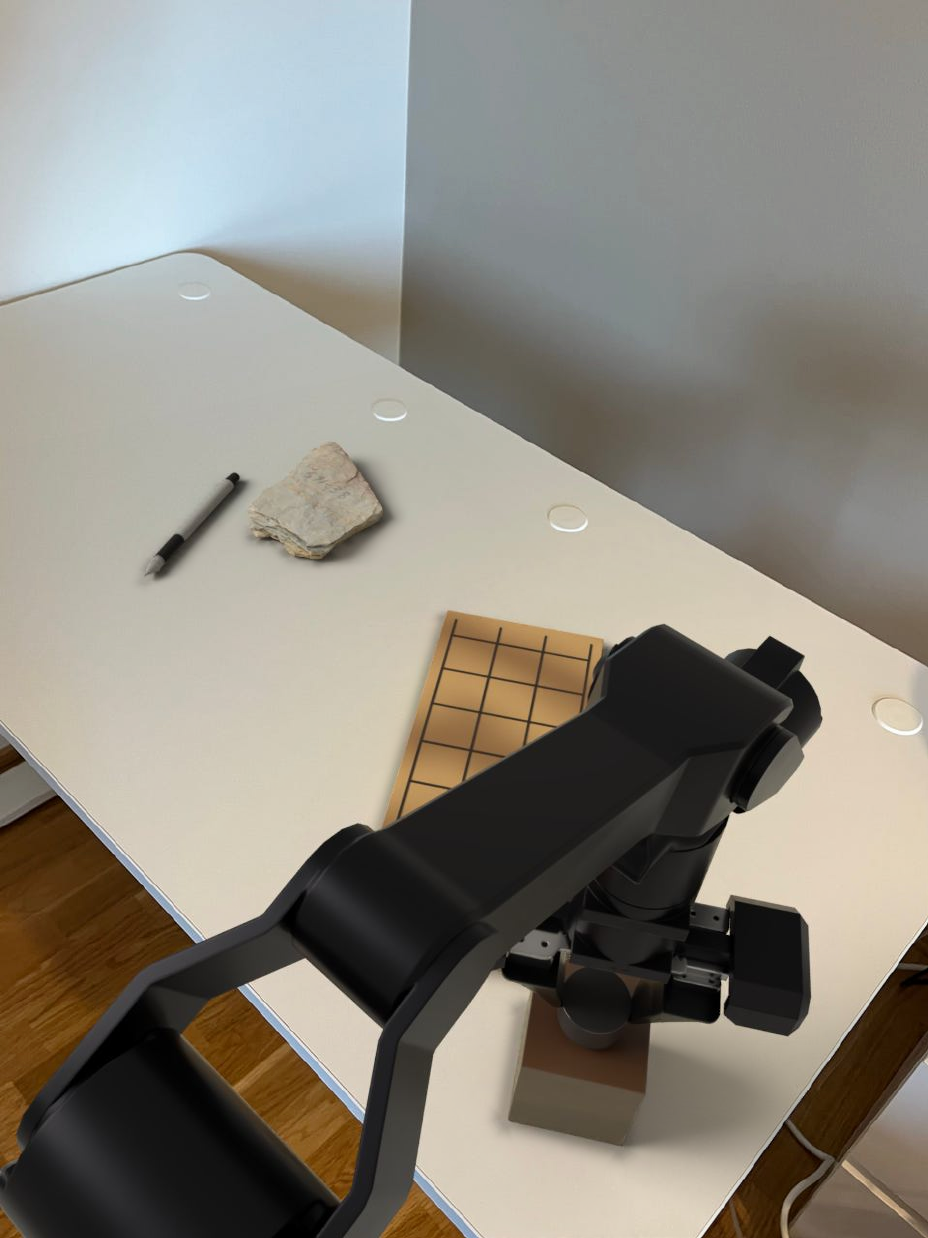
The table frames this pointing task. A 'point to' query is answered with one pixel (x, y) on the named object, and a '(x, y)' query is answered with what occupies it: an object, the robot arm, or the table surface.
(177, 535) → the pen
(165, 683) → the table surface
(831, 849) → the table surface
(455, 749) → the board
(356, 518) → the stone
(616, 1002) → the game stone
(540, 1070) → the stone stand
